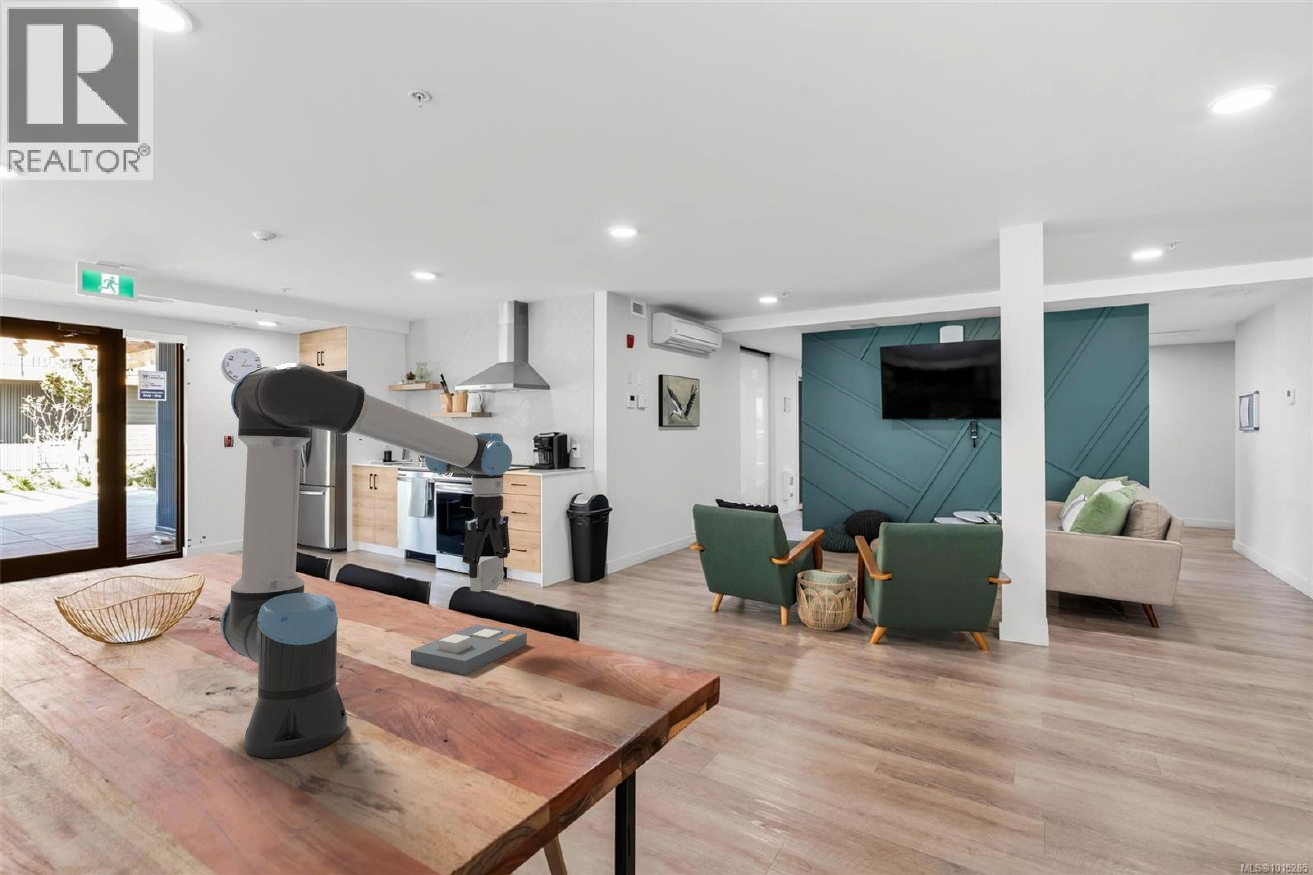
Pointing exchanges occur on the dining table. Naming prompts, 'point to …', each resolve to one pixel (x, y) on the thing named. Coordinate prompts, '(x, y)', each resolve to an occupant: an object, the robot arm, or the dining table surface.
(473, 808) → the dining table surface
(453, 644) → the button
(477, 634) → the tagged button
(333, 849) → the dining table surface
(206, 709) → the dining table surface
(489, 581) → the die
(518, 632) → the breaker panel
